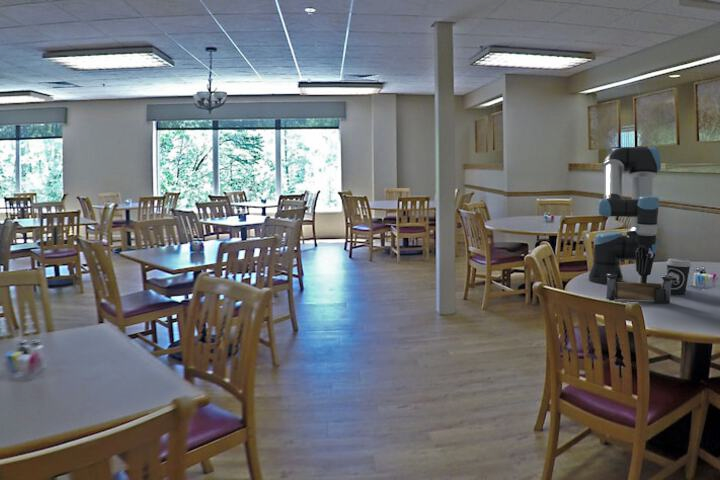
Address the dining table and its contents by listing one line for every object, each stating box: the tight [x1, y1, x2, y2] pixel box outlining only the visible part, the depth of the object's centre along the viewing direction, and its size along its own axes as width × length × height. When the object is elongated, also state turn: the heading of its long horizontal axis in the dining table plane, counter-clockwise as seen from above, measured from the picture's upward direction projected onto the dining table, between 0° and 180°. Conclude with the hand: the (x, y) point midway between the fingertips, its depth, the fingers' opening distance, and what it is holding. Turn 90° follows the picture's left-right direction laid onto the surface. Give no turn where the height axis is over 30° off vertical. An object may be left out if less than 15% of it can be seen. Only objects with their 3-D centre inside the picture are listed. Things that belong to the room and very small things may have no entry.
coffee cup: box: [665, 257, 692, 297], centre depth 239 cm, size 10×10×15 cm
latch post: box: [653, 274, 673, 305], centre depth 226 cm, size 5×7×11 cm
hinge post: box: [605, 273, 617, 301], centre depth 231 cm, size 4×4×11 cm
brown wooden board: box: [615, 281, 662, 302], centre depth 229 cm, size 2×17×7 cm, turn 76°
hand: (641, 290), depth 231 cm, fingers closed
